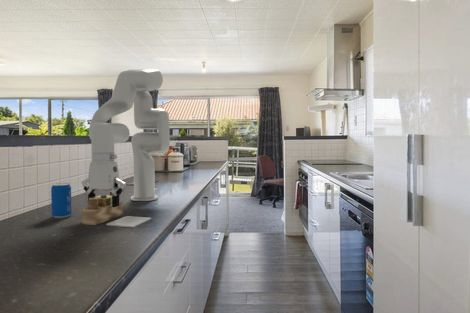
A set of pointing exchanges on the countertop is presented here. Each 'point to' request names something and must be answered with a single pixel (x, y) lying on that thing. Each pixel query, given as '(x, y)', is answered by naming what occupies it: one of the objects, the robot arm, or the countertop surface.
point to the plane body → (100, 212)
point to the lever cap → (103, 200)
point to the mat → (129, 221)
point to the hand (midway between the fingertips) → (103, 205)
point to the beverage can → (61, 200)
